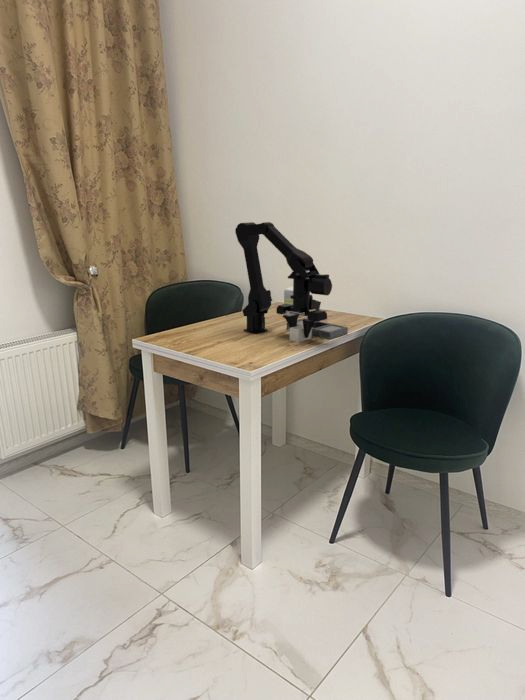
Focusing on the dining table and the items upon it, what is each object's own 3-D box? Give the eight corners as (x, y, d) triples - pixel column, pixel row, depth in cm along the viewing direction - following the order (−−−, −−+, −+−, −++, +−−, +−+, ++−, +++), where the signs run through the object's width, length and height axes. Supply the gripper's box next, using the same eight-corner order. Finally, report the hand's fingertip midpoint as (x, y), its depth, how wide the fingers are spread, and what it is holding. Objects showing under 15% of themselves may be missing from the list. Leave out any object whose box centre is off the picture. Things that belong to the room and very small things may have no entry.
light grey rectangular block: (297, 342, 171) (298, 330, 169) (289, 340, 173) (289, 327, 172) (311, 338, 175) (311, 326, 174) (303, 336, 178) (303, 324, 177)
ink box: (293, 318, 204) (293, 290, 200) (283, 317, 206) (283, 289, 203) (303, 314, 211) (303, 287, 207) (292, 313, 213) (293, 286, 210)
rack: (329, 339, 173) (329, 332, 172) (286, 329, 187) (286, 322, 186) (347, 333, 181) (347, 326, 180) (304, 324, 194) (304, 317, 194)
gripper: (337, 292, 168) (335, 336, 173) (296, 286, 181) (295, 327, 186) (317, 297, 161) (315, 343, 165) (275, 290, 173) (275, 333, 178)
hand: (300, 336), depth 174 cm, fingers open, 5 cm apart
